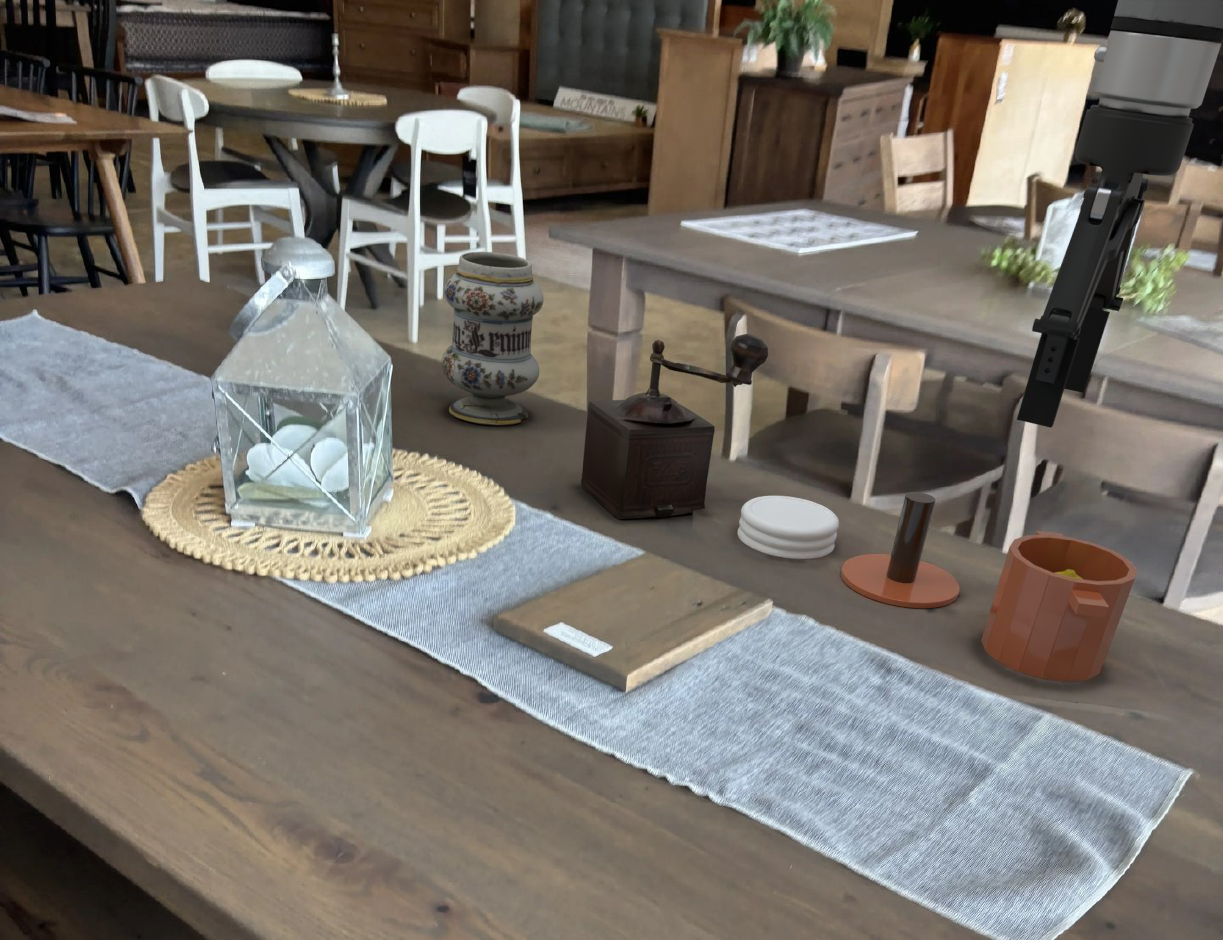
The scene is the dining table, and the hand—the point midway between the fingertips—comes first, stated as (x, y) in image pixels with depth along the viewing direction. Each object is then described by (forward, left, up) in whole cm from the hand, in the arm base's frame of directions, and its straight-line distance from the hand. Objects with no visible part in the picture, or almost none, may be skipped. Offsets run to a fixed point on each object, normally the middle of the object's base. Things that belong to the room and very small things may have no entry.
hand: (1052, 405), depth 98 cm
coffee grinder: (+31, -25, -21) cm, 45 cm away
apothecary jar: (+54, -48, -21) cm, 75 cm away
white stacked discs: (+18, -16, -21) cm, 31 cm away
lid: (+7, -8, -20) cm, 22 cm away
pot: (-4, +4, -21) cm, 21 cm away
